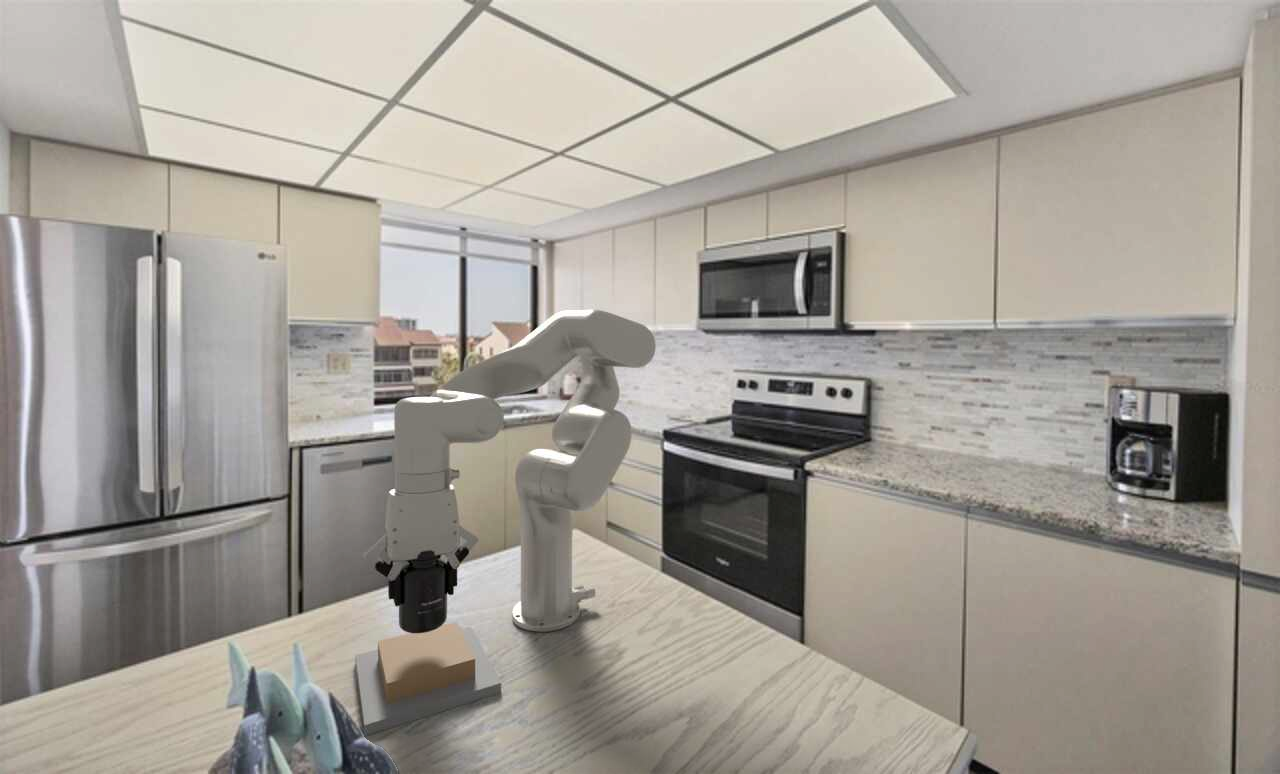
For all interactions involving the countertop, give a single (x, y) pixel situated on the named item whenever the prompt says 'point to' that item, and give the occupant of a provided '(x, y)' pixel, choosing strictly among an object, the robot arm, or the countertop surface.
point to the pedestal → (422, 676)
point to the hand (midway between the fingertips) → (423, 595)
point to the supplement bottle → (423, 593)
